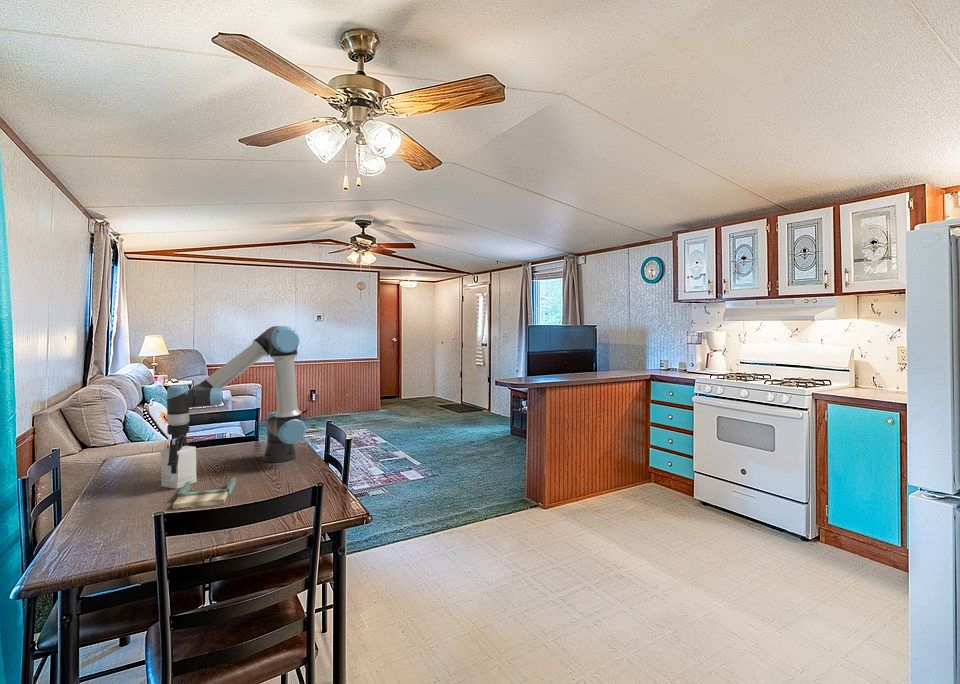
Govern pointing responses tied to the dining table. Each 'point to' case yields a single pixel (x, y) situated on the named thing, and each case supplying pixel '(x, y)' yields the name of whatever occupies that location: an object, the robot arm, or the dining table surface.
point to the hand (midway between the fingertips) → (179, 476)
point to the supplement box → (185, 467)
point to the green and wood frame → (202, 496)
